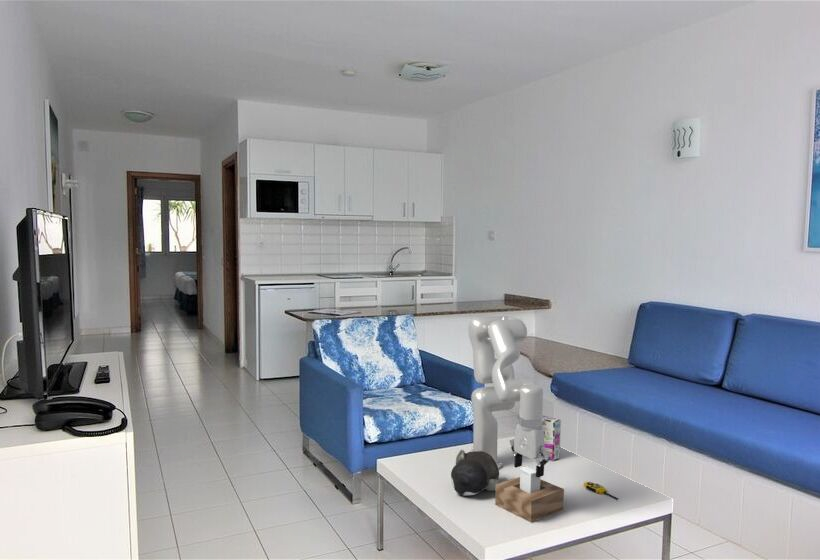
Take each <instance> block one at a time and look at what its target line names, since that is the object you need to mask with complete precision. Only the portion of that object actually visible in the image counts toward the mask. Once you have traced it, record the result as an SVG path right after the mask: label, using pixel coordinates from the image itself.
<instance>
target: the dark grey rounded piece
mask: <svg viewBox="0 0 820 560" xmlns="http://www.w3.org/2000/svg"><path fill="white" fill-rule="evenodd" d="M499 476H500V469H498V466H497V464H496V462H495V461H494V459H493V458H492V456H491V455H489V454H488V453H486V452H483V451H473V452H470V451H469V452H465V450H464V449H460V451H459V452H458V453H457V455H456V458H455V464H454V466H453V468H452V469H451V471H450V480H451V485H452V486H453V489H454V491H455V492H456V493H457V495H459V496H465V497H466V496H467V497H468V496H474V495H477V494H479V493H481V492H483V491H484V490H487V491H489V492H495V491H496V484H499V483H502V482H503V480H500V478H499Z"/></svg>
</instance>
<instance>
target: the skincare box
mask: <svg viewBox="0 0 820 560" xmlns="http://www.w3.org/2000/svg"><path fill="white" fill-rule="evenodd" d="M519 474H520V475H519V477H520V489H521V490H523V491H525V492H528V493H530V494H531V493H534V492H537V491H539V490H540V479H541V477H536V468H535V467H532V466H530V465H528V466H523V467H522V466H521V467H519Z"/></svg>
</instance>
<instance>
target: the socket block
mask: <svg viewBox="0 0 820 560" xmlns="http://www.w3.org/2000/svg"><path fill="white" fill-rule="evenodd" d="M494 493H495V497H494V498H495V500H494V504H495V506H497V507H499V508H501V509H503V510H505V511H507V512H509V513H510V514H513V515H516V516H518V517H519V518H521V519H523V520H525V521H527V522H529V523H533V522H536V521H538V520H541V519H543V518H545V517H548V516H550V515H553V514H555V513H558V512H560V511H563V510H564V508H565V506H564V505H565V503H564V502H565V501H564V500H565V499H564V498H565V488H563V487H560V486H557V485H555V484H554V483H551V482H549V481H546V480H544V479H541V478H540V490H539V491H537V492H534V493H531V494H530V493H528V492H525V491H523V490H521V489H520V476H518V477H514V478H511V479H509V480H506V481H502V483H499V484H496V491H494Z"/></svg>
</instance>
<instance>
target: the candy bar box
mask: <svg viewBox="0 0 820 560" xmlns="http://www.w3.org/2000/svg"><path fill="white" fill-rule="evenodd" d="M561 421H562V420H561V419H558V418H555V417H550V416H546V415H543V414H542V428H543V432H544V448H545V450H546V451H547V452H548V453H549V454H550V455H551V457H550V459H549V461H553V462H554V461H557V460H559V459H560V458H561ZM543 457H544V456H543Z"/></svg>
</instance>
